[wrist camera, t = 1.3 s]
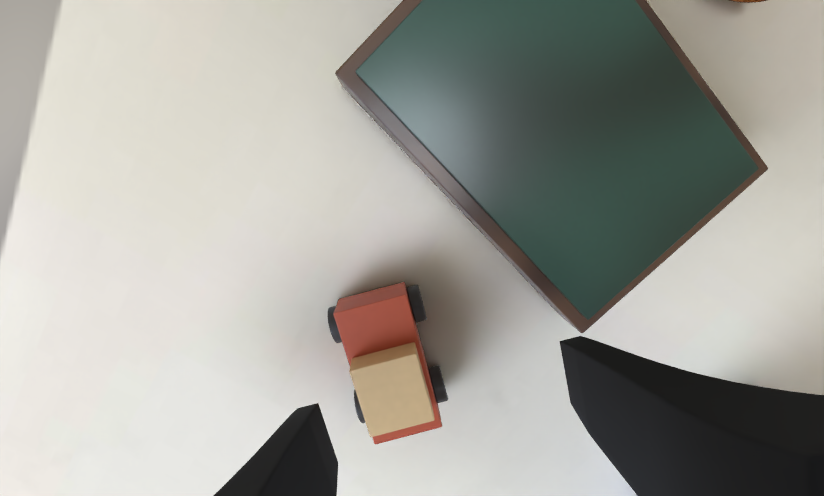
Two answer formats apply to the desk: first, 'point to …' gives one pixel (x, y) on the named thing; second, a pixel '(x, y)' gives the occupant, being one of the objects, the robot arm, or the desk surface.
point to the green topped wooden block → (557, 134)
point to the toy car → (388, 361)
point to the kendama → (748, 0)
